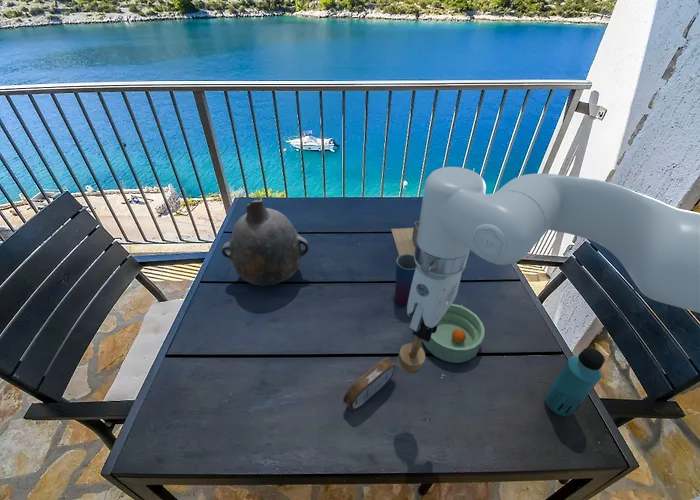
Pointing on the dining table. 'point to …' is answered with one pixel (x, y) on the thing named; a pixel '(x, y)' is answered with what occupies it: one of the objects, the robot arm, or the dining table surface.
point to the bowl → (444, 342)
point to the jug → (264, 246)
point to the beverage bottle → (575, 382)
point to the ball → (458, 336)
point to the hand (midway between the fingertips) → (424, 332)
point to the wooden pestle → (411, 356)
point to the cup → (404, 277)
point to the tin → (369, 383)
